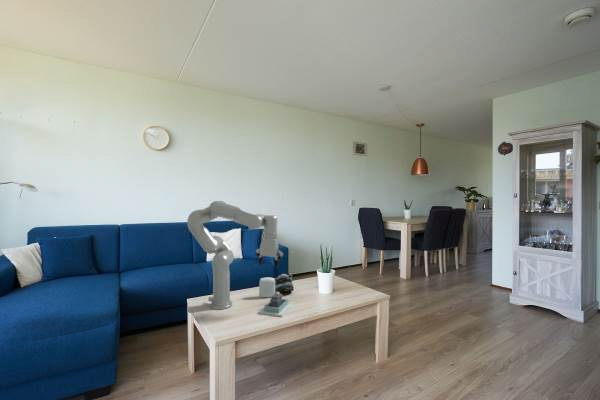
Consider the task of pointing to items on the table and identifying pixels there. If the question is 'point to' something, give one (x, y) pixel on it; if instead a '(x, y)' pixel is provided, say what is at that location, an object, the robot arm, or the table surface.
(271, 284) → the photo printer
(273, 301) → the servo block
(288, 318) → the table surface
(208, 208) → the robot arm
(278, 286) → the dark grey rough lump
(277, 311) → the dock
